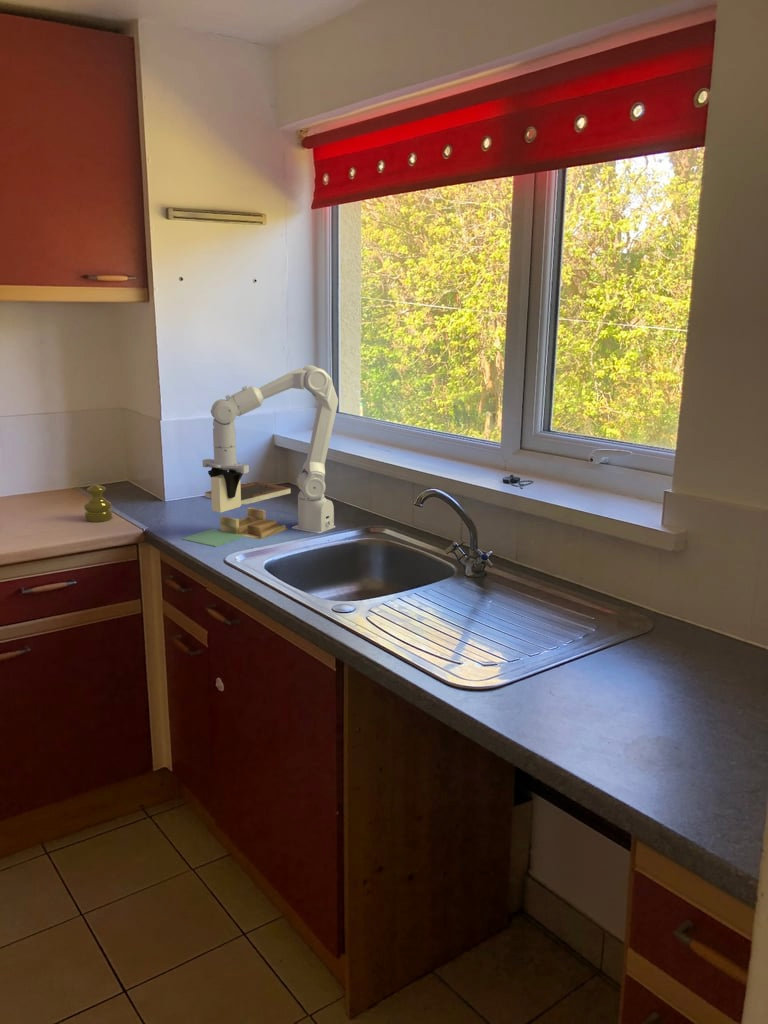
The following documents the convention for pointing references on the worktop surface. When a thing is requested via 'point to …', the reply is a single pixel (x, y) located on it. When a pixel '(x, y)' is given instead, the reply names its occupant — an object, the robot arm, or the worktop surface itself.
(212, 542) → the pad
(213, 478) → the block
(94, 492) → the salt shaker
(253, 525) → the offcut upper
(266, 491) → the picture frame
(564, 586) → the worktop surface
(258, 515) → the rack
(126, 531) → the worktop surface
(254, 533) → the offcut lower
